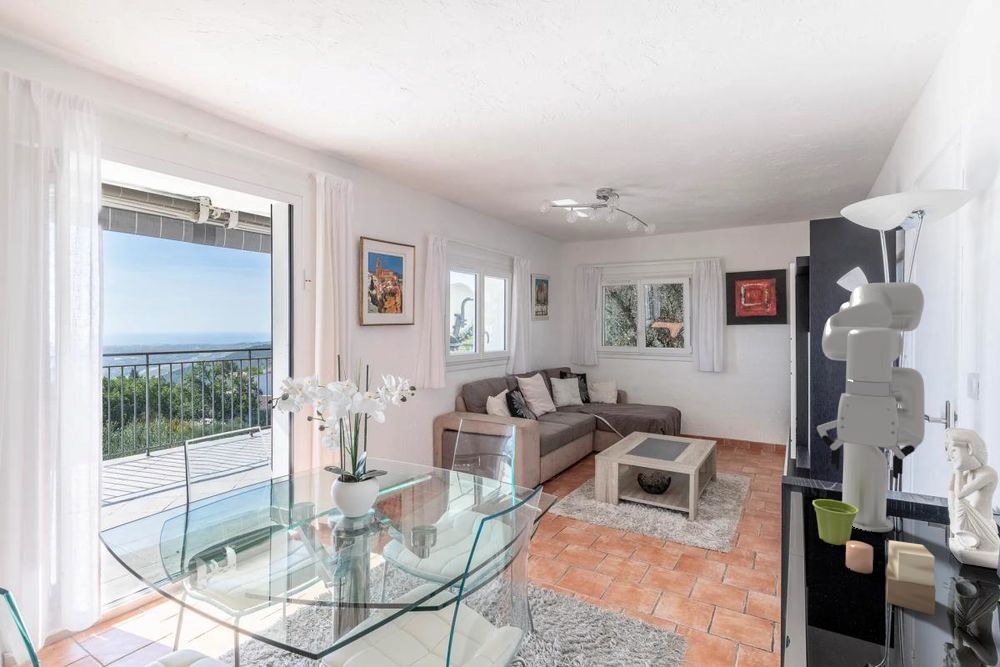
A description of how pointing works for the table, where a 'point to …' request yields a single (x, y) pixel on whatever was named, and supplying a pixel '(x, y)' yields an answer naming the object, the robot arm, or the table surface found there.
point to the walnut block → (910, 594)
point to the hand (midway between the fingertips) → (865, 472)
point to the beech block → (911, 563)
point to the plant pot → (834, 520)
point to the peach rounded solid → (859, 556)
